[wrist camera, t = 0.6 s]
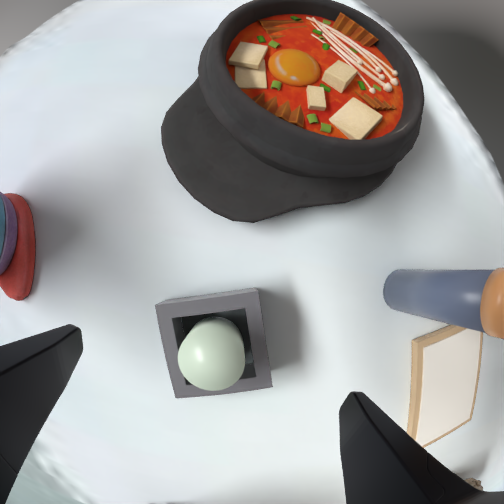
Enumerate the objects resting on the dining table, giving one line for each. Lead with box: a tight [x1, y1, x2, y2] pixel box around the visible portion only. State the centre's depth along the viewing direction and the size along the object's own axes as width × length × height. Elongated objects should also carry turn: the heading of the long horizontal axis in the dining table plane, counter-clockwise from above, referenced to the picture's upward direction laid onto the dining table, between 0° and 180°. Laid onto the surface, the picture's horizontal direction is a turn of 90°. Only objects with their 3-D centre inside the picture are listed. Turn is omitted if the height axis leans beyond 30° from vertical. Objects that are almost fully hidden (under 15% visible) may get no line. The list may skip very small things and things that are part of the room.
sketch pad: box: [407, 325, 483, 448], centre depth 21 cm, size 14×10×1 cm
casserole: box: [161, 0, 424, 223], centre depth 18 cm, size 25×19×8 cm
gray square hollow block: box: [155, 288, 273, 398], centre depth 20 cm, size 7×7×3 cm
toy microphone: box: [383, 268, 504, 339], centre depth 16 cm, size 4×4×13 cm
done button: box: [178, 317, 245, 391], centre depth 18 cm, size 4×4×4 cm
